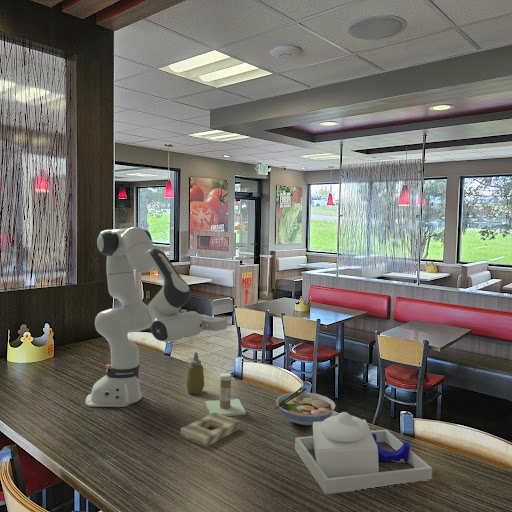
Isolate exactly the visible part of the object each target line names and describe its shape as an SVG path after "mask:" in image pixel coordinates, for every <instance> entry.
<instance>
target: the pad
mask: <svg viewBox="0 0 512 512" xmlns="http://www.w3.org/2000/svg"><path fill="white" fill-rule="evenodd" d="M240 400H241V399H239V398H233V399H232V398H231V399H230V405H231V406H230V408H227V409H223V408H221V407H220V399H219V400H218V399H217V400H206V401H205V405H206V408H207V411H208V412H209V413H208V415H210V414H212V413H214V412H215V413H218V414H221V415H224V416H227V417H233V416H246V415H247V412H246V409H245V407H244V405H243V404H242V403H241V401H240Z"/></svg>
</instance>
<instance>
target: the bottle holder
mask: <svg viewBox="0 0 512 512" xmlns="http://www.w3.org/2000/svg"><path fill="white" fill-rule="evenodd" d="M208 428H212V430H211V429H208ZM238 430H240V420H238V419H234V418H232V417H230V416H224V415H221V414H218V413H215V412H214V413H212V414H208V415H206V416H205V417H202V418H200V419H198V420H196V421H194V422H191V423H189V424H186V425H185V426H183V427H181V428H180V430H179V431H180V436H179V437H180V438H182V439H184V440H187V441H189V442H192V443H195V444H197V445H199V446H201V447H204V448H208V447H209V446H212V445H213V444H215V443H216V442H218V441H220V440H222V439H224V438H225V437H227V436H229V435H231V434H233V433H235V432H237V431H238Z"/></svg>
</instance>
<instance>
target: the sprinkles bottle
mask: <svg viewBox="0 0 512 512" xmlns="http://www.w3.org/2000/svg"><path fill="white" fill-rule="evenodd" d="M219 379H220V384H219V385H220V386H219V388H220V389H219V400H220V407H221V408H223V409H227V408H230V406H231V405H230V399H232V397H231V396H232V374H231V373H228V372H222V373H220V375H219Z"/></svg>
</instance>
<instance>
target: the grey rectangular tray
mask: <svg viewBox="0 0 512 512" xmlns="http://www.w3.org/2000/svg"><path fill="white" fill-rule="evenodd" d="M370 431H371V433H374V434H376V437H377V439H376V441H377V442H381V443H385V442H386V443H387V444H389V445H390V446H391V447H392V448H393V449H395V450H398V449H400V448H401V447H402V445H403V443H404V442H402V441H400V439H398V438H397V437H396V436H395V435H394V434H392V433H391V432H390V431H389V430H388V429H379V430H378V429H377V430H370ZM384 441H385V442H384ZM386 443H385V444H386ZM387 444H386V445H387ZM389 445H388V446H389ZM390 446H389V447H390ZM391 447H390V448H391ZM392 448H391V449H392ZM308 449H309V450H314V440H313V435H311V436H310V435H309V436H300V437H295V440H294V450H295V451H296V453H297V454H299V455H298V456H299V457H300V459H301V460H302V462H303V463H304V465H305V467H306V468H307V470H308V471H309V472H310V474H311V476H313V478H314V480H315V481H316V483H317V484H318V485H319V487H320V489H321V490H322V491H323V493H324V494H325V495H331V494H340V493H347V492H355V490H357V491H362V490H361V489H365V490H368V489H367V488H373V489H376V488H375V487H381V486H387V485H393V484H400V483H407V482H412V481H419V480H427V479H432V480H433V467H432V466H431V465H429V464H428V463H427V462H426V461H425V460H423V459H422V458H421V457H420V456H418V455H417V454H416V453H415V452H414V451H412V449H410V450H409V454H408V458H407V461H409V462H410V463H411V464H412V465H413V466H414V467H415V468H413V467H412V468H407V469H406V468H405V469H404V468H403V469H398V470H397V469H396V470H389V471H380V472H378V473H369V474H360V475H352V476H343V477H334V478H327V476H326V475H325V474H324V472H323V471H322V469H321V468H320V467H319V465H318V464H317V462H316V459H314V457H313V456H312V455H311V453H310V452H309V450H308ZM393 449H392V450H393ZM381 488H382V487H381Z"/></svg>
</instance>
